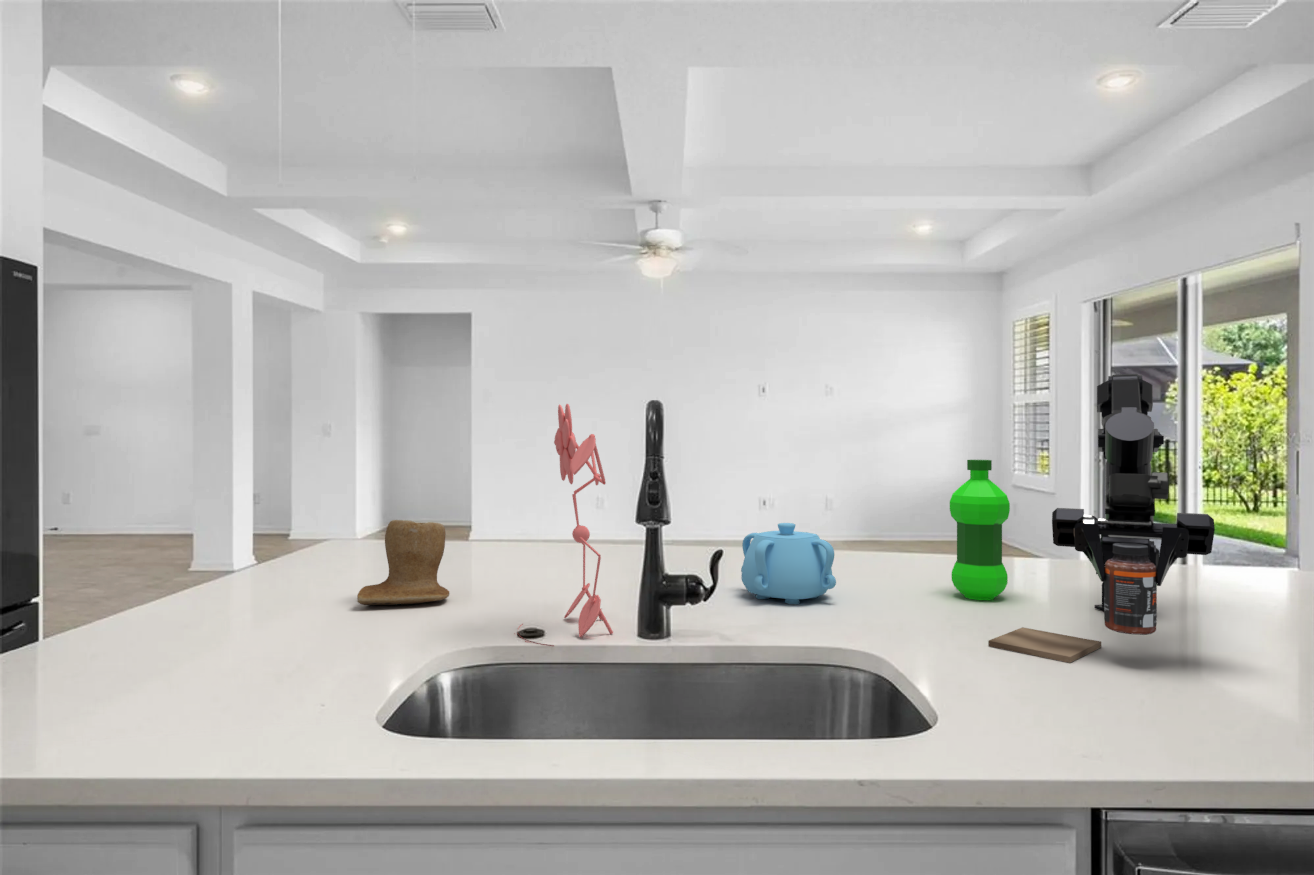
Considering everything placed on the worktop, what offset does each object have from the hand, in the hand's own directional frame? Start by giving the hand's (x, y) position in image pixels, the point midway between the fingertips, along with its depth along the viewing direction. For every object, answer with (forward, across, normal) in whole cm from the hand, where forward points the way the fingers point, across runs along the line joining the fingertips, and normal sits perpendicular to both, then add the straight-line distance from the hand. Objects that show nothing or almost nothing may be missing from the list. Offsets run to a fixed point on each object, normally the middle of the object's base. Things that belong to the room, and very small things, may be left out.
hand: (1130, 581), depth 104 cm
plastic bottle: (-17, -23, +33) cm, 43 cm away
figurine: (+22, -76, -6) cm, 79 cm away
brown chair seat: (+20, -113, -4) cm, 114 cm away
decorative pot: (-5, -54, +22) cm, 58 cm away
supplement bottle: (+4, 0, +6) cm, 7 cm away
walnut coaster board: (+5, -10, +11) cm, 16 cm away
